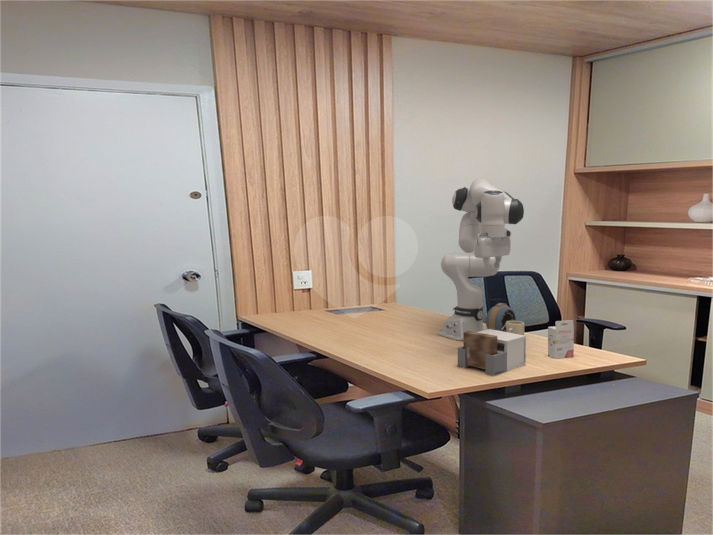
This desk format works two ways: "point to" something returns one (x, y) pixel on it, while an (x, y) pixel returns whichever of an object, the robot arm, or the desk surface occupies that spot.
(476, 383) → the desk surface
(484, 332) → the cabinet
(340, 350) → the desk surface
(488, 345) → the wooden block
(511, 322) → the character mug
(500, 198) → the robot arm
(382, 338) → the desk surface
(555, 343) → the ink cartridge box
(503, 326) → the alarm clock
